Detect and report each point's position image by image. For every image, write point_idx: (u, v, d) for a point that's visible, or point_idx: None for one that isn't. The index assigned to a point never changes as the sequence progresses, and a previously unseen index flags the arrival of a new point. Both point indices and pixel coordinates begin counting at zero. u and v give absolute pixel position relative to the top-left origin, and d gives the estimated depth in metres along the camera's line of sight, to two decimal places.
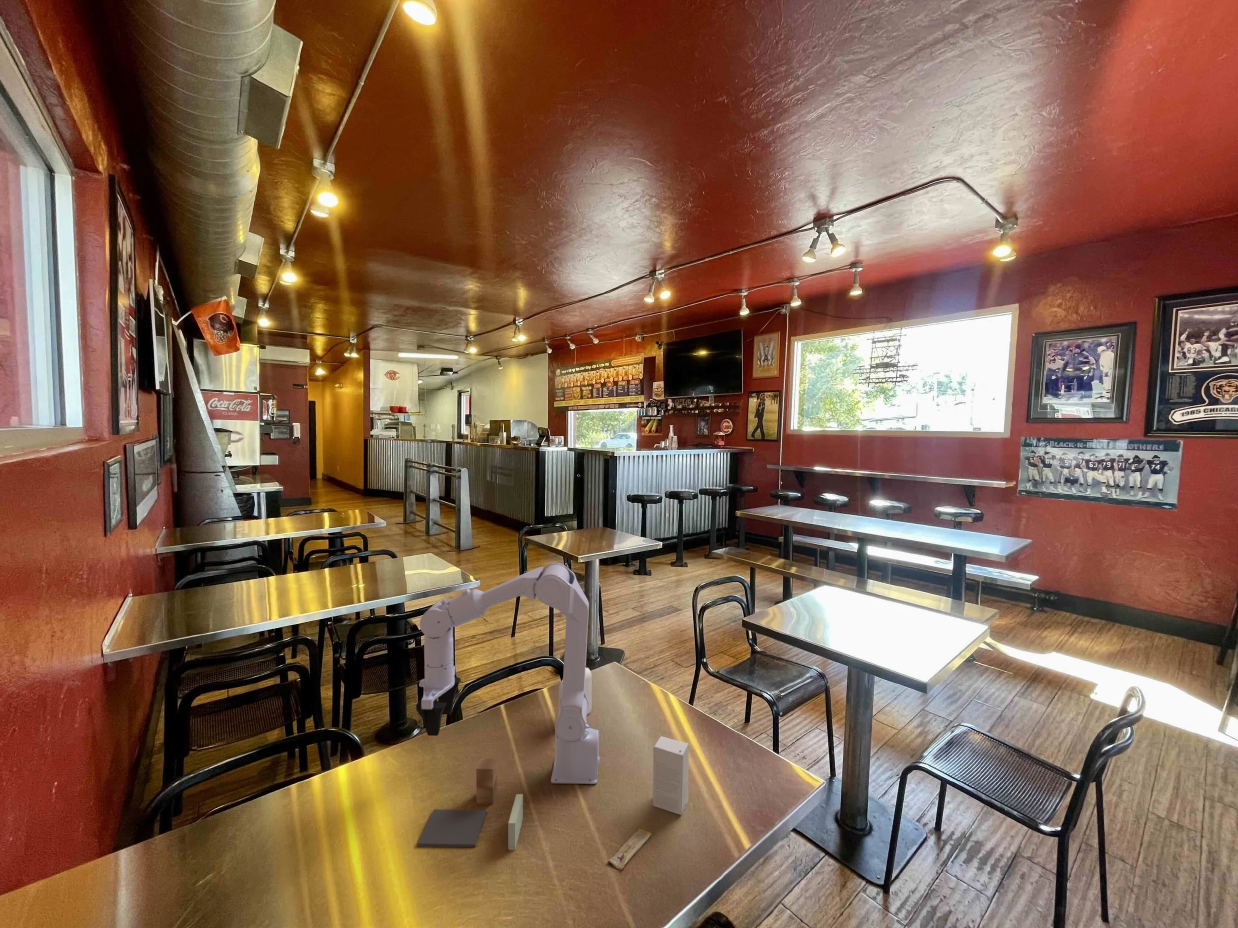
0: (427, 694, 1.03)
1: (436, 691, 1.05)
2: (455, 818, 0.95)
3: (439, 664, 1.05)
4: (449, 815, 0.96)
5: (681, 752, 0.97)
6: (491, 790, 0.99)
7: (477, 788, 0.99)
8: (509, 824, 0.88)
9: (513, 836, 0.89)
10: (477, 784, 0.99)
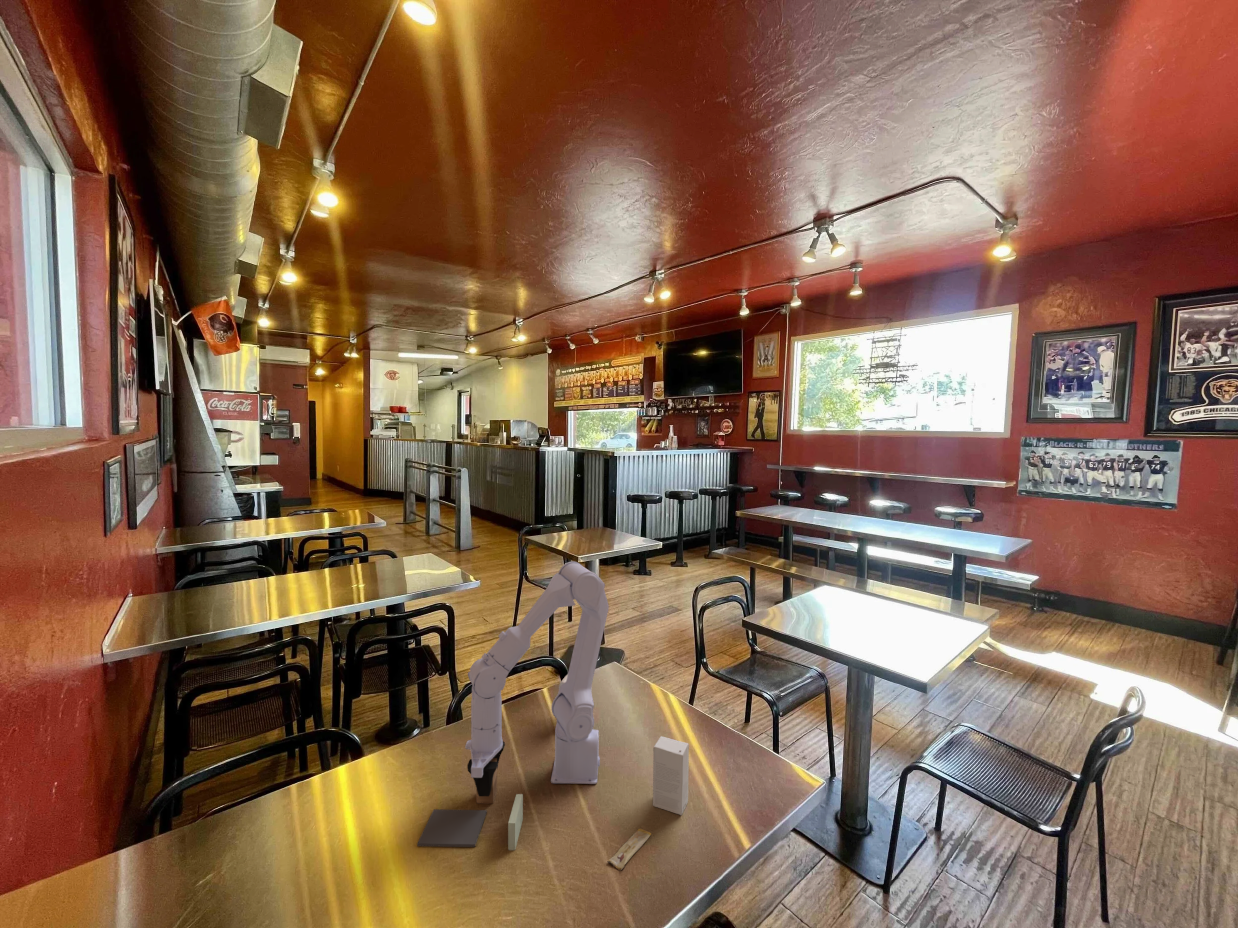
0: (476, 760, 0.96)
1: (485, 755, 0.97)
2: (455, 818, 0.95)
3: (494, 724, 0.98)
4: (449, 815, 0.96)
5: (681, 752, 0.97)
6: (491, 790, 0.99)
7: None
8: (509, 824, 0.88)
9: (513, 836, 0.89)
10: None
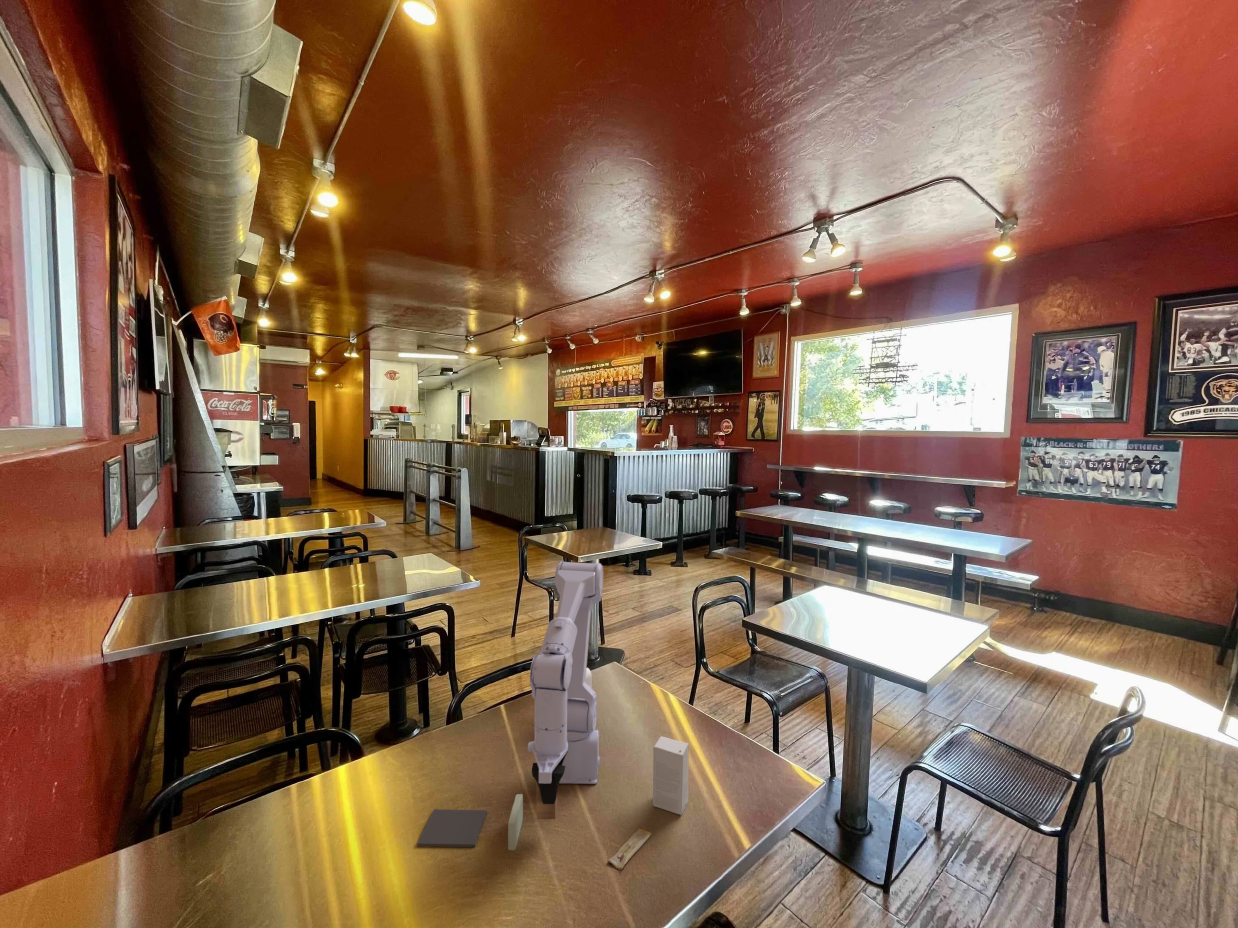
0: (542, 763, 0.86)
1: (551, 759, 0.88)
2: (455, 818, 0.95)
3: None
4: (449, 815, 0.96)
5: (681, 752, 0.97)
6: (553, 804, 0.90)
7: (537, 802, 0.90)
8: (509, 824, 0.88)
9: (513, 836, 0.89)
10: (537, 798, 0.90)
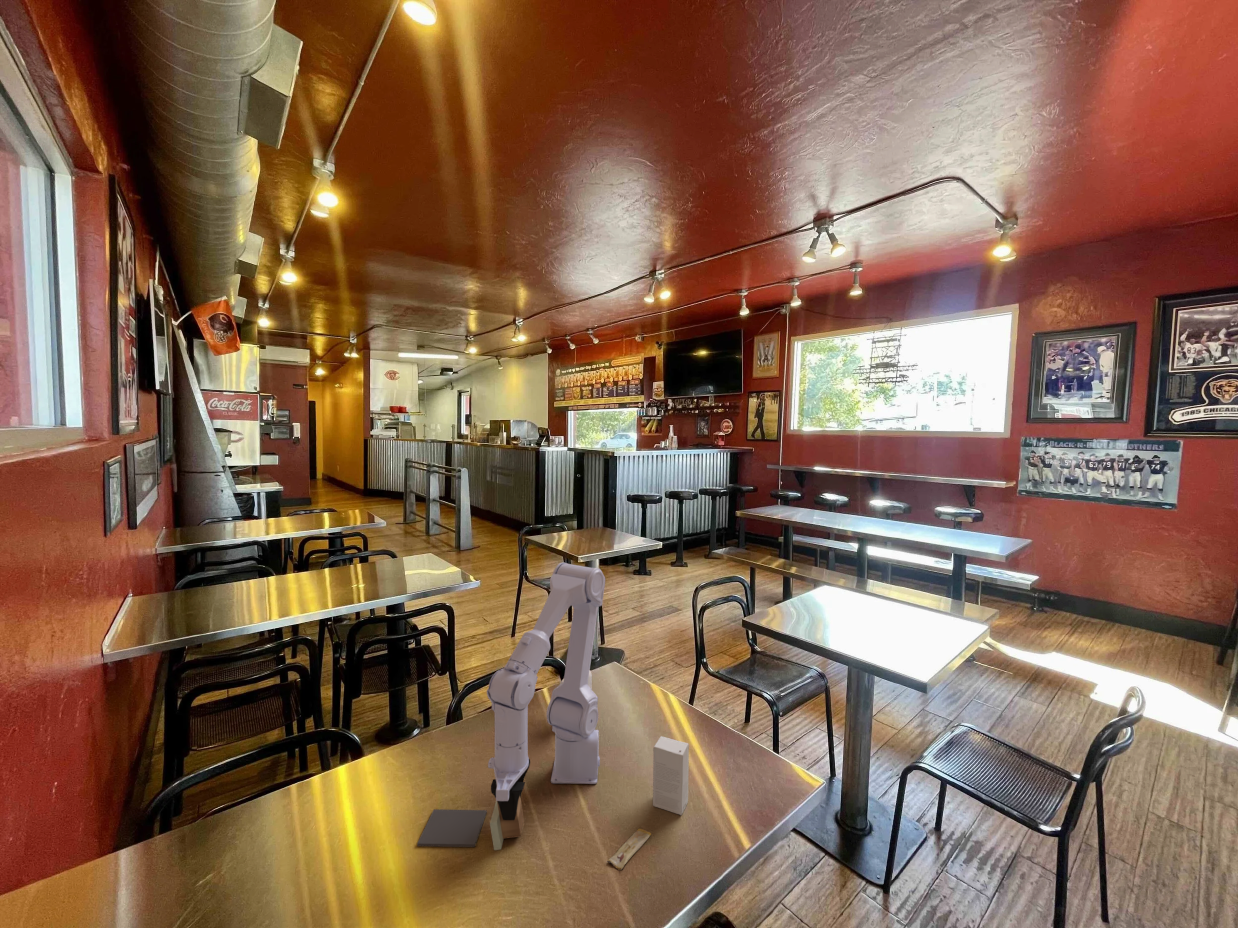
0: (501, 781, 0.87)
1: (510, 775, 0.88)
2: (455, 818, 0.95)
3: (526, 735, 0.91)
4: (449, 815, 0.96)
5: (681, 752, 0.97)
6: (517, 822, 0.90)
7: (501, 822, 0.90)
8: (491, 824, 0.88)
9: (497, 835, 0.89)
10: (500, 818, 0.90)
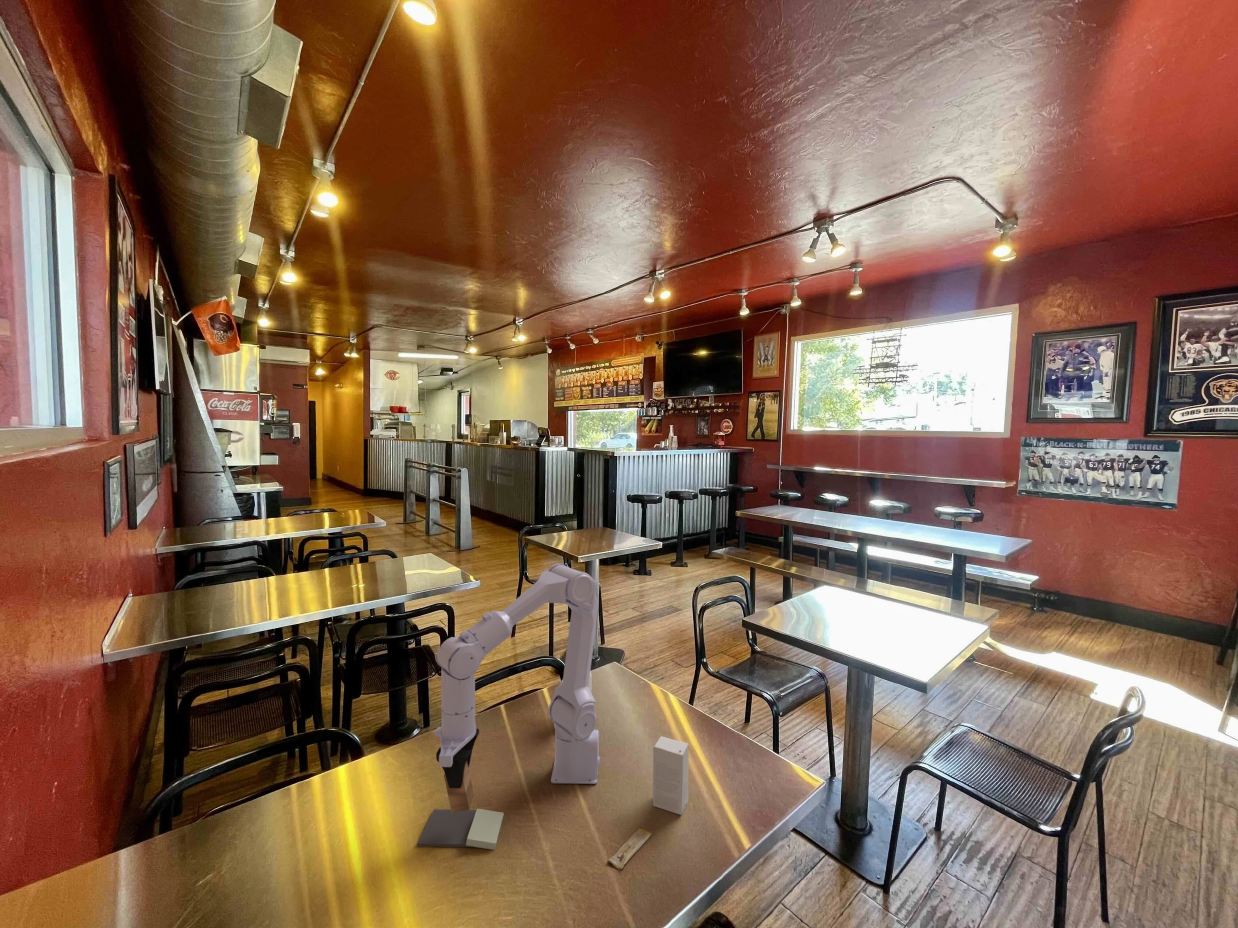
0: (445, 747, 0.87)
1: (455, 743, 0.89)
2: (455, 818, 0.95)
3: (470, 707, 0.90)
4: (449, 815, 0.96)
5: (681, 752, 0.97)
6: (464, 795, 0.91)
7: (449, 796, 0.91)
8: (467, 844, 0.89)
9: (481, 842, 0.89)
10: (448, 792, 0.91)
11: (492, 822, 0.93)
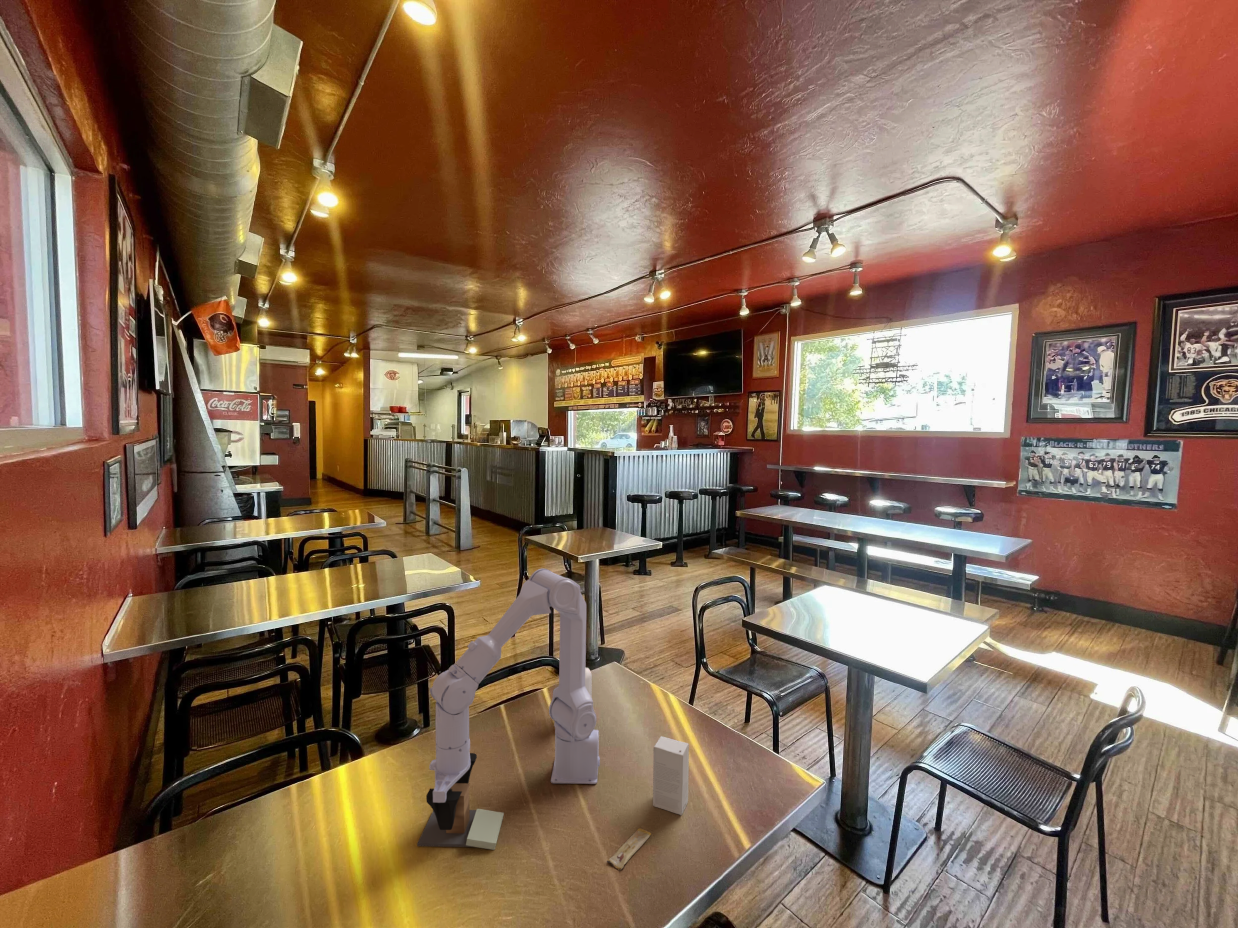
0: (439, 782, 0.88)
1: (450, 777, 0.89)
2: None
3: (463, 741, 0.91)
4: None
5: (681, 752, 0.97)
6: (462, 819, 0.91)
7: None
8: (467, 844, 0.89)
9: (481, 842, 0.89)
10: None
11: (492, 822, 0.93)
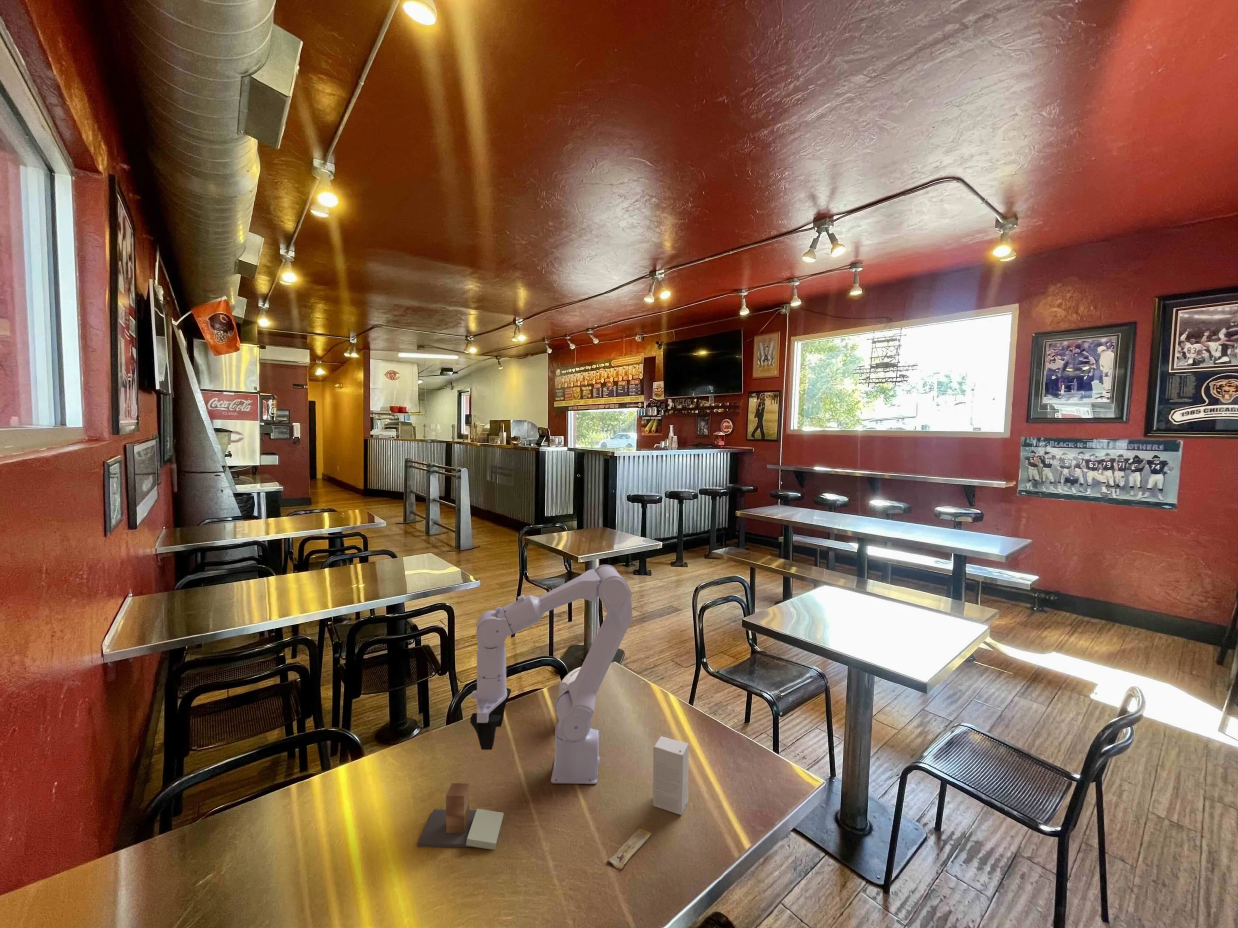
0: (481, 707, 0.99)
1: (490, 703, 1.01)
2: None
3: (496, 674, 1.01)
4: None
5: (681, 752, 0.97)
6: (462, 819, 0.91)
7: (447, 816, 0.91)
8: (467, 844, 0.89)
9: (481, 842, 0.89)
10: (446, 812, 0.91)
11: (492, 822, 0.93)
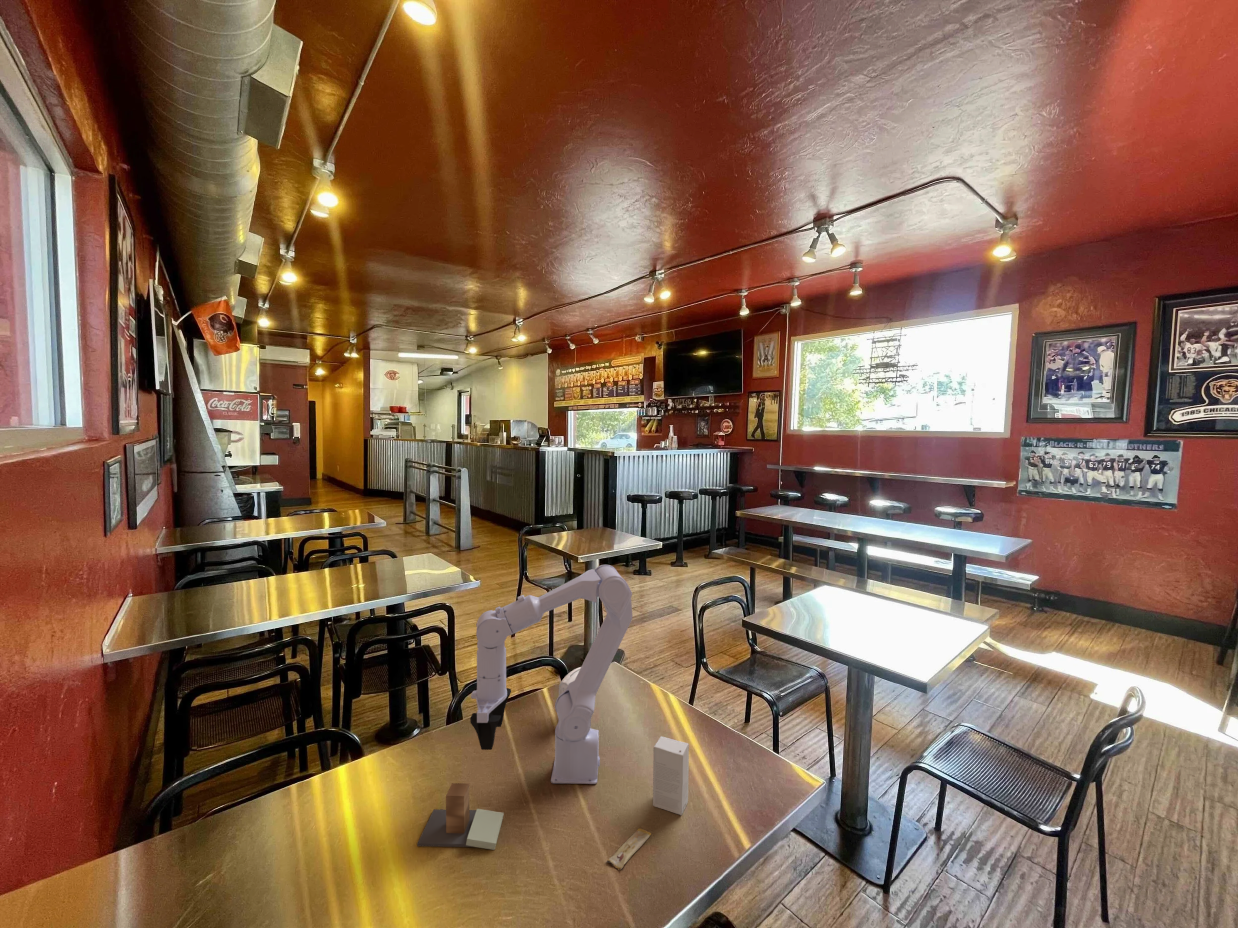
0: (481, 707, 0.99)
1: (490, 703, 1.01)
2: None
3: (496, 674, 1.01)
4: None
5: (681, 752, 0.97)
6: (462, 819, 0.91)
7: (447, 816, 0.91)
8: (467, 844, 0.89)
9: (481, 842, 0.89)
10: (446, 812, 0.91)
11: (492, 822, 0.93)
